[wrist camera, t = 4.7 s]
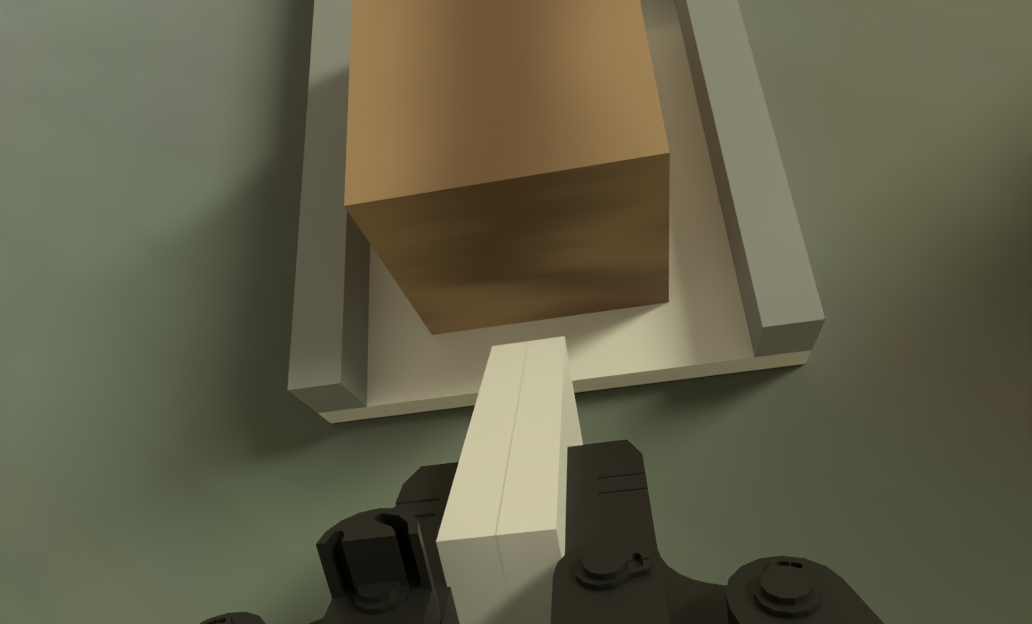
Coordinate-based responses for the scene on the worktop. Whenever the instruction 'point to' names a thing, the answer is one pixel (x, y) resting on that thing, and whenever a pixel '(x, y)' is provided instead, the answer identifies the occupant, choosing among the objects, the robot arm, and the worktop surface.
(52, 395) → the worktop surface
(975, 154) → the worktop surface
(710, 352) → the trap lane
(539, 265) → the walnut block
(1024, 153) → the worktop surface
